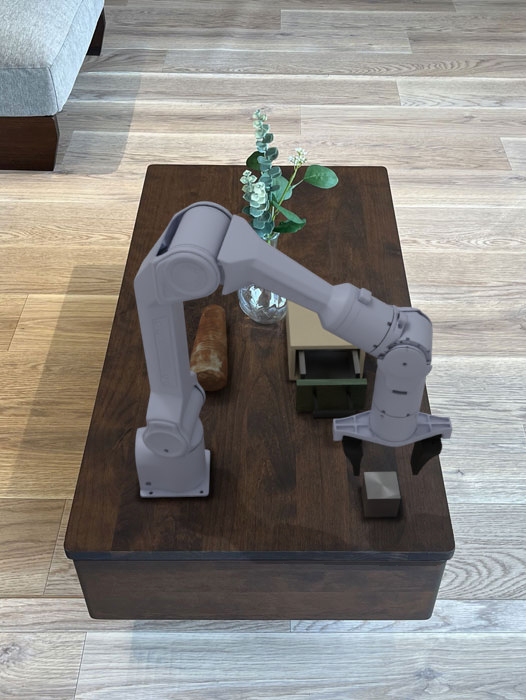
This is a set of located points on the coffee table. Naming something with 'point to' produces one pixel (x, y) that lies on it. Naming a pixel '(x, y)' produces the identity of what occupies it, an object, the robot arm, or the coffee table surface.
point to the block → (380, 494)
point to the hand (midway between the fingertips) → (384, 469)
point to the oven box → (310, 336)
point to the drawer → (329, 383)
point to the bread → (210, 350)
